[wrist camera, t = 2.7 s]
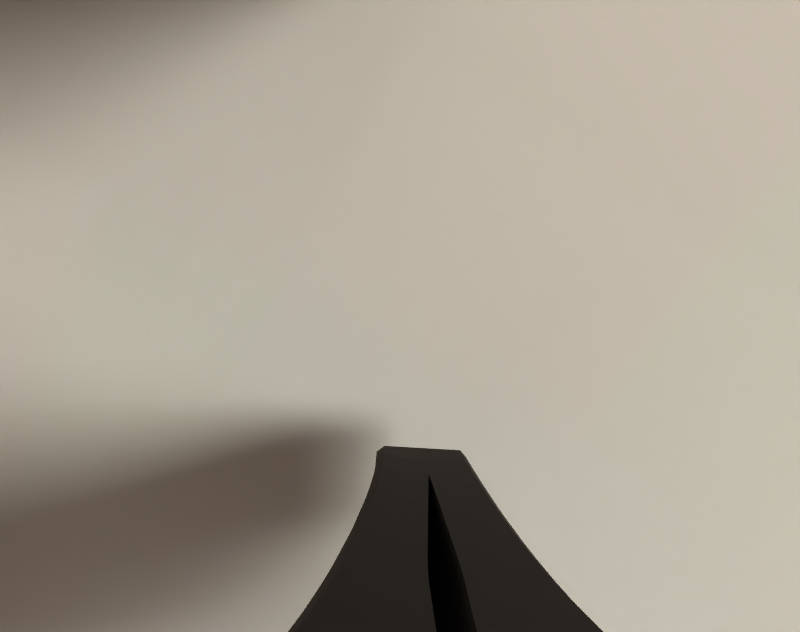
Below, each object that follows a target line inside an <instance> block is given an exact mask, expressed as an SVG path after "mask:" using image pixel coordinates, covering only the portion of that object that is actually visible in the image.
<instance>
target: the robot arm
mask: <svg viewBox="0 0 800 632" xmlns="http://www.w3.org/2000/svg"><path fill="white" fill-rule="evenodd" d="M288 632H603V631H602V630H601V629H600V628H599V627H598V626H597V625H596V624H595V623H594V622H593V621H592V620H591V619H590V618H589V617H588V616H587V615H586V614H585V613H584V612H583V611H582V610H581V609H580V608H579V607H578V606H577V605H576V604H575V603H574V602H573V601H572V600H571V599H570V598H569V597H568V595H567V594H566V593H565V592H564V591H563V590H562V589H561V588H560V586H559V585H558V584H557V583H556V582H555V581H554V580H553V578H552V577H551V576H550V575H549V574H548V572H547V571H546V570H545V569H544V568H543V566H542V565H541V564H540V563H539V562H538V560H537V559H536V558H535V557H534V555H533V554H532V553H531V552H530V550H529V549H528V548H527V547H526V545H525V544H524V543H523V541H522V540H521V539H520V537H519V536H518V534H517V533H516V532H515V530H514V529H513V528H512V526H511V525H510V524H509V522H508V521H507V520H506V518H505V517H504V515H503V514H502V513H501V511H500V510H499V508H498V507H497V505H496V504H495V502H494V501H493V499H492V498H491V496H490V495H489V493H488V492H487V490H486V489H485V487H484V486H483V484H482V483H481V481H480V480H479V478H478V476H477V475H476V473H475V472H474V470H473V468H472V467H471V465H470V463H469V462H468V460H467V458H466V457H465V456H464V454H463V453H462V452H461V451H460V450H443V449H426V448H409V447H392V446H384V447H383V448H381V449H380V450H379V451H377V456H376V466H375V472H374V475H373V479H372V482H371V485H370V488H369V491H368V494H367V496H366V499H365V501H364V504H363V506H362V508H361V510H360V513H359V515H358V517H357V520H356V522H355V524H354V526H353V528H352V531H351V533H350V535H349V536H348V538H347V540H346V542H345V544H344V546H343V548H342V549H341V551H340V553H339V555H338V557H337V559H336V560H335V562H334V564H333V566H332V568H331V569H330V571H329V573H328V574H327V576H326V578H325V579H324V581H323V582H322V584H321V586H320V587H319V589H318V590H317V592H316V593H315V595H314V596H313V598H312V599H311V601H310V602H309V604H308V605H307V607H306V608H305V610H304V611H303V613H302V614H301V615H300V617H299V618H298V619H297V621H296V622H295V623H294V625H293V626H292V627H291V629H290V630H289V631H288Z"/></svg>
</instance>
